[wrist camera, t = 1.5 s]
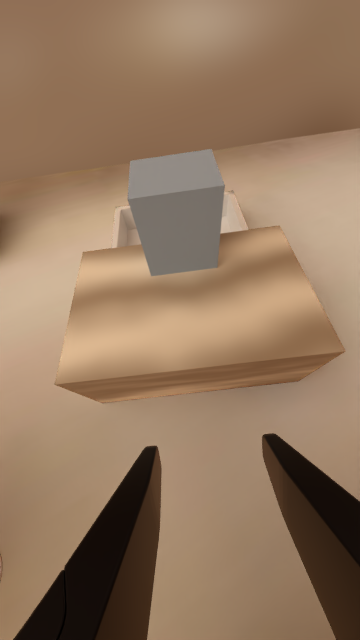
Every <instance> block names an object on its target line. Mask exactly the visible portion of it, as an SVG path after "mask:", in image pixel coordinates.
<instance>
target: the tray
mask: <svg viewBox="0 0 360 640" xmlns="http://www.w3.org/2000/svg"><path fill="white" fill-rule="evenodd" d="M243 230H249V229H248V227H247V224H246V222H245V219H244V217H243V214H242V212H241V209H240V207H239V204H238V202H237V199H236V197H235V194H234V192H233V191H227V192H224V199H223V210H222V221H221V232H220V234H221V233H228V232H236V231H243ZM139 244H141V241H140V238H139V235H138V231H137V228H136V225H135V222H134V218H133V215H132V212H131V208H130V205H128V206H121V207H116V209H115V218H114V227H113V235H112V244H111V248H117V247H125V246H132V245H139Z"/></svg>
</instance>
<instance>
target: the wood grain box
mask: <svg viewBox="0 0 360 640" xmlns="http://www.w3.org/2000/svg"><path fill="white" fill-rule="evenodd" d="M344 352H345V349H344V347H343V345H342V344H341V342H340V340H339V338H338V336H337V334H336V332H335V330H334V328H333V326H332V325H331V323H330V321H329V319H328V317H327V315H326V313H325V311H324V309H323V307H322V306H321V304H320V302H319V300H318V298H317V296H316V294H315V292H314V290H313V288H312V287H311V285H310V283H309V281H308V279H307V277H306V275H305V273H304V271H303V269H302V268H301V266H300V264H299V262H298V260H297V258H296V256H295V254H294V252H293V250H292V248H291V247H290V245H289V243H288V241H287V239H286V237H285V235H284V233H283V231H282V229H281V228H280V226H273V227H265V228H258V229H251V230H243V231H236V232H228V233H221V234H220V244H219V255H218V266H217V268H212V269H204V270H196V271H188V272H181V273H173V274H165V275H158V276H151V274H150V271H149V268H148V264H147V261H146V258H145V254H144V251H143V248H142V245H141V244H139V245H132V246H125V247H117V248H110V249H102V250H95V251H88V252H83V254H82V259H81V264H80V268H79V273H78V278H77V282H76V287H75V292H74V296H73V301H72V306H71V310H70V315H69V320H68V325H67V329H66V334H65V339H64V343H63V348H62V353H61V357H60V362H59V367H58V371H57V376H56V381H55V385H57V386H60V387H62V388H65V389H67V390H70V391H72V392H75V393H78V394H80V395H83V396H85V397H88V398H90V399H93V400H95V401H98V402H101V403H106V402H115V401H124V400H133V399H142V398H151V397H160V396H169V395H178V394H187V393H196V392H205V391H214V390H223V389H232V388H241V387H250V386H259V385H268V384H277V383H286V382H295V381H299V380H301V379H302V378H304V377H306V376H307V375H309V374H310V373H312V372H314V371H315V370H317V369H318V368H320V367H321V366H323V365H325V364H326V363H328V362H329V361H331V360H333V359H334V358H336V357H337V356H339V355H340V354H342V353H344Z"/></svg>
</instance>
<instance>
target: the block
mask: <svg viewBox="0 0 360 640" xmlns="http://www.w3.org/2000/svg"><path fill="white" fill-rule="evenodd" d="M224 188H225V185H224V182H223V179H222V177H221V174H220V171H219V169H218V166H217V163H216V161H215V158H214V155H213V152H212V150H211V149H208V150H202V151H195V152H188V153H181V154H174V155H168V156H161V157H155V158H148V159H141V160H135V161H130V172H129V187H128V202H129V205H130V208H131V212H132V215H133V218H134V222H135V225H136V228H137V231H138V235H139V238H140V241H141V245H142V248H143V251H144V254H145V258H146V261H147V264H148V268H149V271H150V274H151V276H158V275H165V274H173V273H181V272H188V271H196V270H204V269H212V268H217V266H218V255H219V244H220V232H221V221H222V210H223V199H224Z"/></svg>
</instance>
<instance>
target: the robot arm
mask: <svg viewBox="0 0 360 640" xmlns="http://www.w3.org/2000/svg"><path fill="white" fill-rule="evenodd" d="M262 449H263V458H264V462H265V465H266V468H267V471H268V474H269V477H270V480H271V483H272V486H273V489H274V492H275V495H276V498H277V501H278V504H279V507H280V509H281V512H282V515H283V518H284V520H285V523H286V525H287V527H288V530H289V532H290V534H291V537H292V539H293V541H294V544H295V546H296V548H297V550H298V553H299V555H300V557H301V560H302V562H303V564H304V566H305V569H306V571H307V573H308V576H309V578H310V580H311V583H312V585H313V587H314V589H315V592H316V594H317V596H318V599H319V601H320V603H321V605H322V608H323V610H324V612H325V615H326V617H327V619H328V621H329V624H330V626H331V628H332V631H333V633H334V635H335V638H336V640H360V501H358V500H357V499H356V498H355V497H353V496H352V495H351V494H350V493H349V492H347V491H346V490H345V489H344V488H342V487H341V486H340V485H339V484H337V483H336V482H335V481H334V480H332V479H331V478H330V477H329V476H327V475H326V474H325V473H324V472H322V471H321V470H320V469H319V468H317V467H316V466H315V465H314V464H312V463H311V462H310V461H309V460H307V459H306V458H305V457H304V456H302V455H301V454H300V453H299V452H297V451H296V450H295V449H294V448H292V447H291V446H290V445H289V444H288V443H286V442H285V441H284V440H283V439H281V438H280V437H279V436H278V435H276V434H274V433H272V434H264V435H263V436H262ZM160 508H161V461H160V456H159V451H158V447H157V446H147V447H145V448H144V450H143V451H142V453H141V454H140V455H139V457H138V458H137V460H136V461H135V463H134V464H133V466H132V467H131V469H130V470H129V472H128V473H127V475H126V476H125V478H124V479H123V481H122V482H121V484H120V485H119V487H118V488H117V490H116V491H115V492H114V494H113V495H112V497H111V498H110V500H109V501H108V503H107V504H106V506H105V507H104V509H103V510H102V512H101V513H100V515H99V516H98V518H97V519H96V521H95V522H94V524H93V525H92V527H91V528H90V529H89V531H88V532H87V534H86V535H85V537H84V538H83V540H82V541H81V543H80V544H79V546H78V547H77V549H76V550H75V552H74V553H73V555H72V556H71V558H70V559H69V561H68V562H67V564H66V565H65V567H64V570H62V571H61V572H60V574H59V575H58V577H57V578H56V580H55V581H54V583H53V584H52V585H51V587H50V588H49V590H48V591H47V593H46V594H45V596H44V597H43V599H42V600H41V601H40V603H39V604H38V606H37V607H36V609H35V610H34V611H33V613H32V614H31V616H30V617H29V619H28V620H27V621H26V623H25V624H24V626H23V627H22V628H21V630H20V631H19V632H18V634H17V635H16V636H15V638H14V639H13V640H147V634H148V626H149V617H150V609H151V600H152V592H153V583H154V575H155V566H156V558H157V549H158V541H159V530H160Z"/></svg>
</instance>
